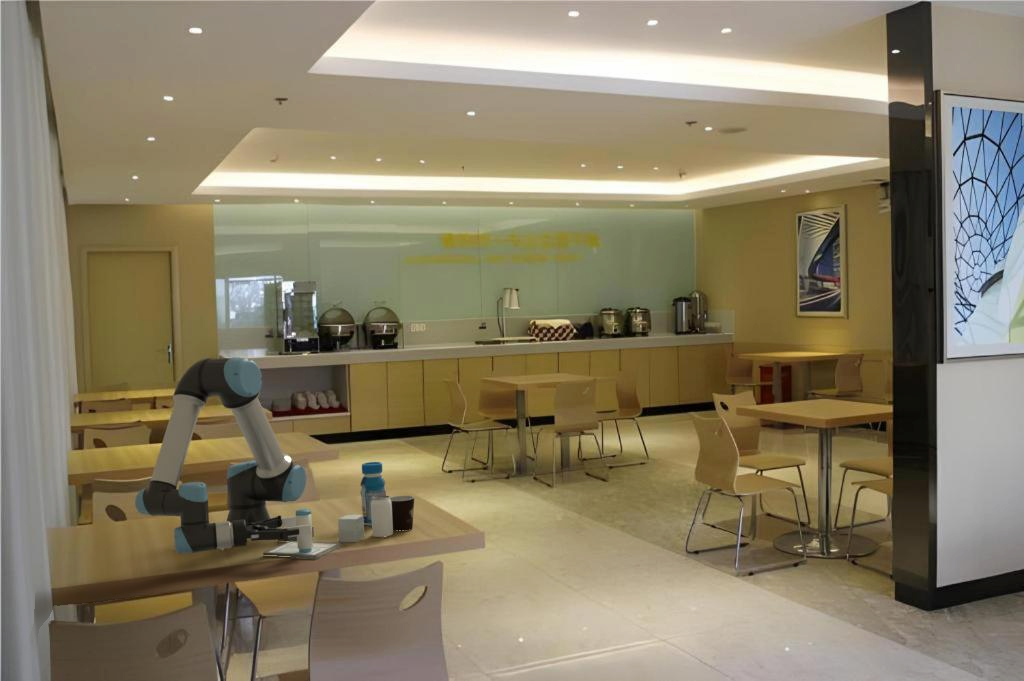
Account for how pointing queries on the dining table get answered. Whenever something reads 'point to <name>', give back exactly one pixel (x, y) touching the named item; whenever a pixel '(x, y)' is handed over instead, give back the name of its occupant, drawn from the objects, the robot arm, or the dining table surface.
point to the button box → (296, 537)
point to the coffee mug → (402, 512)
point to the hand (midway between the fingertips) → (307, 524)
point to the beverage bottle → (371, 487)
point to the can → (381, 516)
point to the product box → (351, 528)
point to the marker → (306, 540)
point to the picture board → (293, 551)
